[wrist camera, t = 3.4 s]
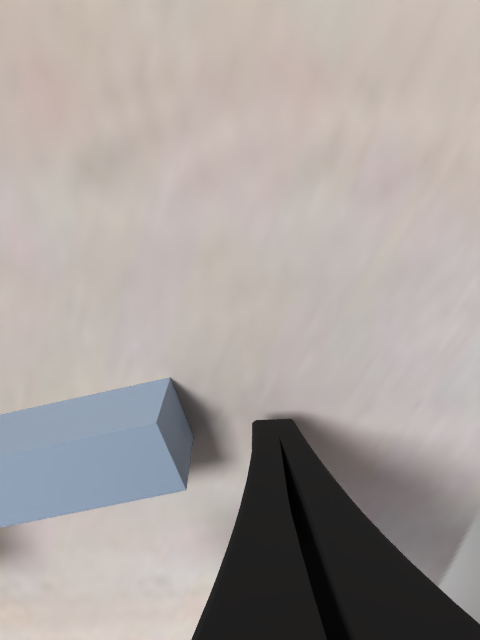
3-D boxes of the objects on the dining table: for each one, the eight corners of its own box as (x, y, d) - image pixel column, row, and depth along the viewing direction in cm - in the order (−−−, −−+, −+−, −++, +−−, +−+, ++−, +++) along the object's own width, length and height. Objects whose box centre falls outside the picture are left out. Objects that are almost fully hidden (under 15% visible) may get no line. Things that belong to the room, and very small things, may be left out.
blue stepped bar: (171, 373, 10) (156, 422, 8) (194, 431, 11) (186, 490, 9) (-100, 433, 10) (-188, 496, 8) (-52, 483, 11) (-118, 551, 9)
